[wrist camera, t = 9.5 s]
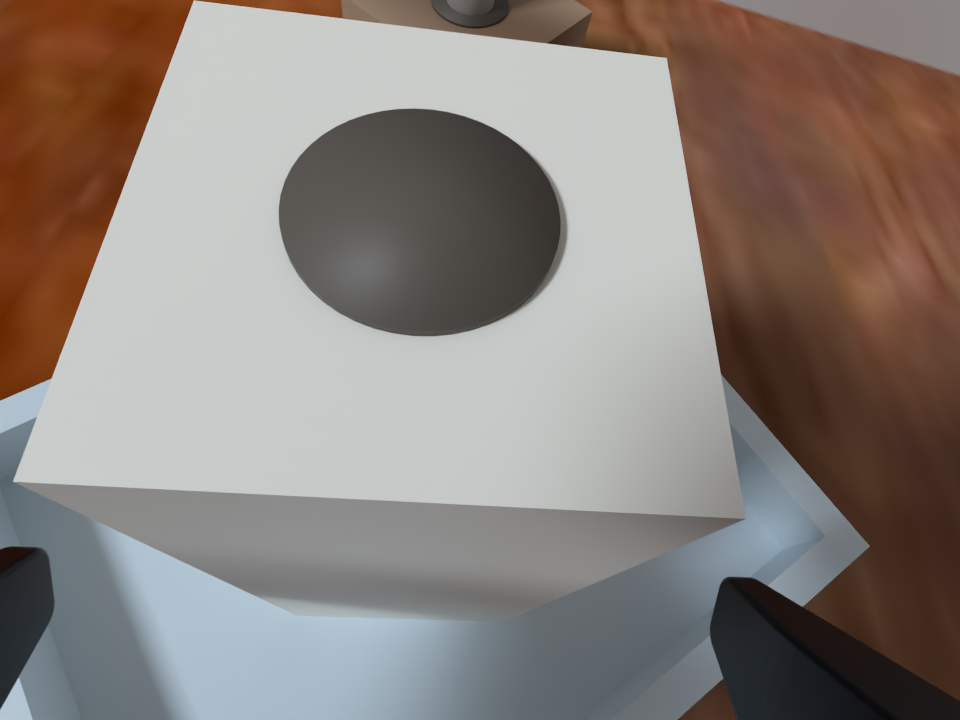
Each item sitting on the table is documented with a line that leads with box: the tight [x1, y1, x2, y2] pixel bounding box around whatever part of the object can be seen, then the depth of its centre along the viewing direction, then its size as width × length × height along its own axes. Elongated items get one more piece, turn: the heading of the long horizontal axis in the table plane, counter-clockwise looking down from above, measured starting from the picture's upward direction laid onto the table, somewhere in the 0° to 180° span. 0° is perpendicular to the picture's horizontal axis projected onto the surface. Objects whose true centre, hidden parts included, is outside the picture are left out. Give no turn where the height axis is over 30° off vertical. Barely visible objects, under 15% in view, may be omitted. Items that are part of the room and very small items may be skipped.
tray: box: [0, 375, 870, 720], centre depth 15 cm, size 18×14×2 cm
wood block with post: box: [341, 0, 592, 48], centre depth 20 cm, size 6×6×8 cm
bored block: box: [13, 1, 746, 622], centre depth 11 cm, size 5×5×12 cm
